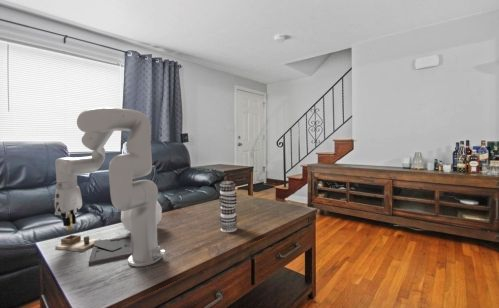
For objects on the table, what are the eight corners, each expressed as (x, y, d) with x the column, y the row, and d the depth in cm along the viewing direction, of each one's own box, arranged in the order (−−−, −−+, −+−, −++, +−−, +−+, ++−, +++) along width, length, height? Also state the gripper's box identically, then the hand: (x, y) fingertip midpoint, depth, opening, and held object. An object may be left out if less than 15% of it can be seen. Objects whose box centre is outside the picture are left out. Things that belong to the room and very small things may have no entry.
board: (101, 242, 118) (100, 233, 118) (82, 251, 108) (82, 242, 108) (75, 239, 121) (75, 231, 121) (55, 248, 111) (54, 239, 111)
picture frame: (94, 245, 115) (88, 265, 96) (94, 240, 115) (88, 260, 96) (133, 238, 122) (134, 256, 103) (133, 234, 122) (134, 251, 103)
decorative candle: (237, 232, 126) (235, 183, 125) (218, 232, 127) (217, 183, 125) (238, 226, 136) (237, 180, 134) (221, 226, 136) (219, 180, 134)
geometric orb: (144, 240, 136) (155, 205, 146) (162, 236, 123) (173, 198, 134) (108, 230, 125) (123, 193, 136) (123, 225, 112) (138, 184, 123)
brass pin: (74, 228, 116) (73, 213, 116) (69, 230, 114) (68, 215, 113) (69, 227, 117) (69, 213, 116) (65, 229, 114) (64, 214, 114)
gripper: (56, 188, 105) (59, 231, 106) (89, 182, 121) (91, 219, 122) (42, 188, 107) (45, 230, 108) (76, 181, 122) (78, 218, 124)
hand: (69, 224), depth 115 cm, fingers closed on brass pin, 2 cm apart
